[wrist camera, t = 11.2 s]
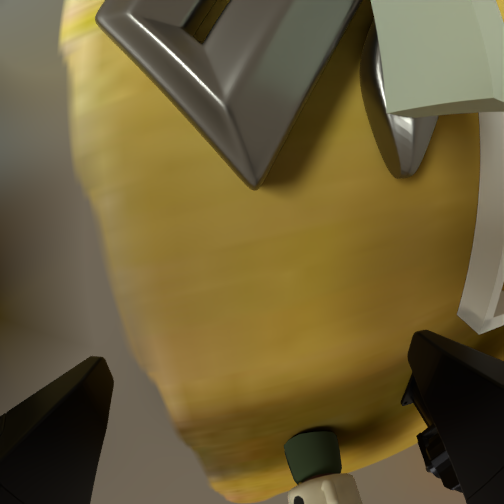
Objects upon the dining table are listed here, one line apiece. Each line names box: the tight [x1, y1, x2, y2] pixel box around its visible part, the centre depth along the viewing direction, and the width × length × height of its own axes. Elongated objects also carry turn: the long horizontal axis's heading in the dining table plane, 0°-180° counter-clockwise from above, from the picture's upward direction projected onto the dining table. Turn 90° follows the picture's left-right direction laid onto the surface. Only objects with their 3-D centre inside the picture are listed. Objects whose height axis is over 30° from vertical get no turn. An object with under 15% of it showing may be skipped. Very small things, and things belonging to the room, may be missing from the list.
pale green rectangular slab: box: [371, 0, 504, 118], centre depth 7 cm, size 12×2×8 cm, turn 3°
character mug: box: [284, 431, 362, 504], centre depth 22 cm, size 11×7×13 cm, turn 7°
